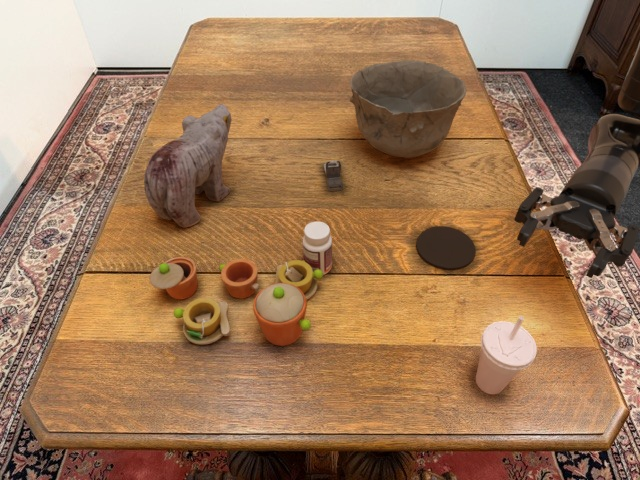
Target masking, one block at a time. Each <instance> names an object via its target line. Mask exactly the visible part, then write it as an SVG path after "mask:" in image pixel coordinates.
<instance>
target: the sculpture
mask: <svg viewBox="0 0 640 480" xmlns="http://www.w3.org/2000/svg"><path fill="white" fill-rule="evenodd" d="M231 125H232V115H231V112H230V110H229V108H228V107H227V106H226V105H225V104H224V103H219V104H218V105H217V106H215V108H214V109H212V110H209V111H208V112H206V113H204V114H202V115H201V116H199V117H195V116H193V115H187V116H185V117H183V119H182V121H181V128H182V133H183V134H181V136H179V137H177V138H174V139H173V140H171V141H168V142H167V143H165V144H164V145H161V146H160V147H159V148H158V149H157V150H156V151H155V152H154V153H153V154H152V155H151V157H150V158H149V160H148V163H147V165H146V168H145V172H144V175H143V177H144V178H143V184H144V186H143V188H144V194H145V197H146V199H147V202H148V204H149V205H150V207H151V209H152V210H153V211H154V213H156V214H157V216H159V218H160V219H163V220H167V221H171V220H173V222H175V223H176V225H178V226H179V227H181V228H185V229H186V228H189V227H192V226H194V225H197V224H198V223H199V222H200V220H201V215H200V213H199V211H198V209H197V208H196V204H195V201H196V195H201V194H202V193H203V191H204V194H205V196H206V197H207V198H208V199H209V200H210V201H212V202H220V201H222V200H224V198H226V197H227V196H228V195H229V194H230V191H231V189H230V188H229V187H228V186H226V185H224V181H223V180H224V179H223V160H224V155H225V151H226V149H227V145H228V141H229V133H230V129H231Z"/></svg>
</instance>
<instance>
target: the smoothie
mask: <svg viewBox="0 0 640 480" xmlns="http://www.w3.org/2000/svg"><path fill="white" fill-rule="evenodd" d="M524 320H525V317H524V316H522V315H520V316H519V317H518V318H517V320H516V322H515V323H514V322H512V321H506V320H499V321H495V322H492V323H490V324H488V326H486V327H485V328H484V331H483V332H482V334H481V337H480V347H481V349H480V354H479V359H478V364H477V370H476V375H475V383H476V385H477V387H478V388H479V389H480V390H481V391H482V392H483V393H485V394H487V395H488V394H489V395H499V394H500V393H501V392H502V391H503V390H504V389H505V388H506V387H507V386H508V385H509V384H510V383H511V382H512V381H513V380H514V379H515V378H516V377H517V375H518V374H520V372H521V371H522V370H524V369H526V368H529V367H530V365H532V364H533V362H534V360H535V359H536V356H537V353H538V352H537V351H538V348H537V343H536V340H535V339H534V337H533V336H532V335H531V333H530V332H529V331H528V330H527V329H525V328H524V327H522V325H523V324H522V323H523V322H524Z"/></svg>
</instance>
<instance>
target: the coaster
mask: <svg viewBox="0 0 640 480" xmlns="http://www.w3.org/2000/svg"><path fill="white" fill-rule="evenodd" d="M415 249H416V252H417V254H418V256H419V257H420V258H421V259H422V261H423V262H425V263H426V264H428V265H429V266H431V267H433V268H436V269H439V270H443V271H458V270H461V269H464V268H466V267H468V266H469V265H470V264H472V262H473V261H474V259H475V256H476V253H477V252H476V251H477V249H476V245H475V243H474V241H473V240H472V238H471V237H470V236H469V235H468V234H466V233H465V232H463V231H461V230H459V229H457V228H454V227H451V226H443V225H437V226H432V227H428V228H426V229H424V230H423V231H422V232H420V234H419V235H418V236H417V238H416V241H415Z"/></svg>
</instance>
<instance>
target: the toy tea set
mask: <svg viewBox="0 0 640 480" xmlns="http://www.w3.org/2000/svg"><path fill="white" fill-rule="evenodd" d="M218 270H219V272H220V278H221V280H222V283H223V284H224V286H225V288H226V290H227V292H228V293H229V294H230V296H231V297H233V298H235V299H246V298H249V297H250V296H252V295H254V293H255V292H256V291H258V290H259V289H260V284H259V283H258V275H259V269H258V267H257V265H256V264H255V262H254V261H252V260H251V259H247V258H236V259H233V260H230V261H228V262H227V263H221V264H220V265H219V267H218ZM323 276H324V275H323V272H322V271H321V270H319V269H317V270H315V271H314V272H313V270H312V268H311V266H310V265H309V264H308V263H306V262H305V260H303V259H299V260H298V259H294V260H293V259H292V260H289V261H285V263H284V264H279V265H277V266H276V271H275V280H274V283H272V284H269V285H266V286H265V287H263V288H262V289H260V291H259V292H258V293H257V294H256V296H255V297H254V300H253V303H252V309H253V310H252V311H253V313H254V316H255V318H256V320H257V322H258V325H259V327H260V329H261V331H262V333H263V335H264V338H265V339H266V340H267V341H268V342H269V343H270V344H273V345H275V346H281V347H283V346H288V345H291V344H293V343H295V342H296V341H297V340H299V338H300V337H301V335H302V333H303V331H308V330H309V329H311V326H312V324H311V321H310V320H309V319H307V318H306V314H307V307H308V302H307V301H308V300H309V299H311V298H312V297H313V296H314V295H315V293H316V292H317V289H318V281H317V280H321V279H322V278H323ZM149 283H150V285H151V286H152V287H154V288H155V289H158V290H165V291H166V292H167V294H168V295H169V296H170V297H171V298H172V299H175V300H185V299H188V298H190V297H192V296H193V295H194V294H195V293H196V291H197V289H198V275H197V265H196V263H195V262H194V261H193V259H191V258H189V257H185V256H178V257H173V258H172V257H171V258H170V259H168V260H166V261H164V262H163V263H160V264H159V265H158V266H157V267H155V268H154V269H153V270H152V271H151V273H150V275H149ZM228 312H229V304H228V303H227V302H226V301H224V300H223V301H219V302H217V301H216V300H215V299H213V298H210V297H200V298H196V299H194V300H192V301H191V302H189V303H188V304H187V305H186V306H185V307H184V309H183V308H182V307H177V308H175V309H174V310H173V316H174V318H176V319H182V320H183V324H182V331H183V334H184V337H185V338H186V340H187V341H189V342H190V343H192V344H196V345H199V346H200V345H203V346H204V345H209V344H213V343H215V342H217V341H219V340H220V339H221V338H222V337H223V336H224V337H228V336H230V334H231V332H232V331H231V324H230V322H229V316H228Z"/></svg>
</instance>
